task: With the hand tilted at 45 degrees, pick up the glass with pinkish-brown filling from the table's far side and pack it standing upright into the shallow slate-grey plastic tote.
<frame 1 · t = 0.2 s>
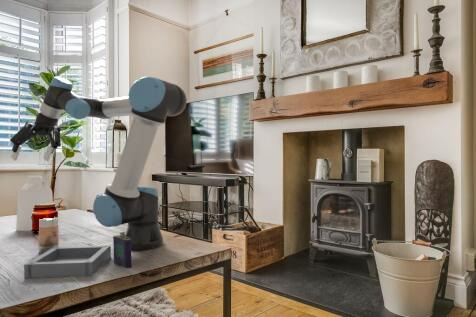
hand: (30, 159, 140), 34 cm above the table, tool tilted 30°, fingers open, 13 cm apart
glass with pinkish-brown filling: (48, 251, 126), on the table
flask: (123, 265, 109), on the table
tote: (71, 266, 108), on the table
milk: (36, 228, 168), on the table
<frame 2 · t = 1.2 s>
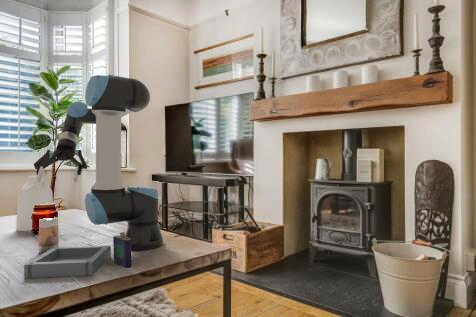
hand: (56, 180, 136), 26 cm above the table, tool tilted 45°, fingers open, 13 cm apart
nothing on the table moved.
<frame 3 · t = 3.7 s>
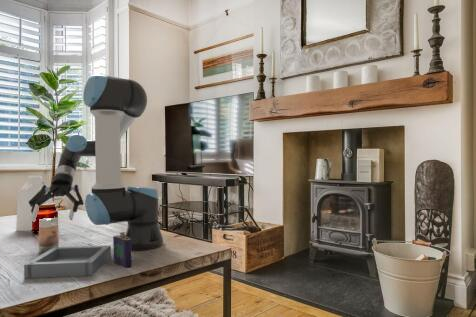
hand: (52, 219, 132), 11 cm above the table, tool tilted 45°, fingers open, 13 cm apart
nothing on the table moved.
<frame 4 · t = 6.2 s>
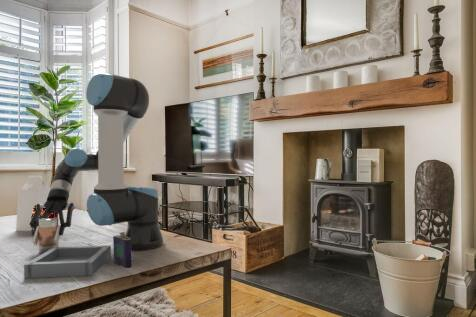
hand: (45, 242, 122), 4 cm above the table, tool tilted 45°, fingers closed on glass with pinkish-brown filling, 6 cm apart
glass with pinkish-brown filling: (48, 251, 126), on the table, touching gripper
everything else where it was.
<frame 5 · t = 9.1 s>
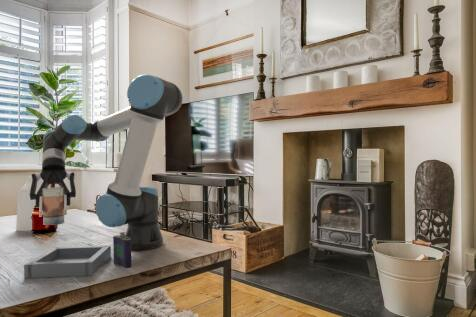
hand: (53, 213, 110), 17 cm above the table, tool tilted 45°, fingers closed on glass with pinkish-brown filling, 6 cm apart
glass with pinkish-brown filling: (53, 223, 114), point 13 cm above the table, touching gripper
everything else where it was.
when the fingers open (6 cm above the table, at t = 12.1 s): glass with pinkish-brown filling drops 1 cm, resting on tote.
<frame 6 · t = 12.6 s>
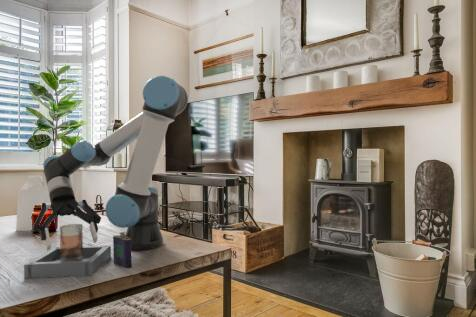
hand: (73, 244, 106), 8 cm above the table, tool tilted 45°, fingers open, 13 cm apart
glass with pinkish-brown filling: (71, 263, 108), point 1 cm above the table, touching tote
everything else where it was.
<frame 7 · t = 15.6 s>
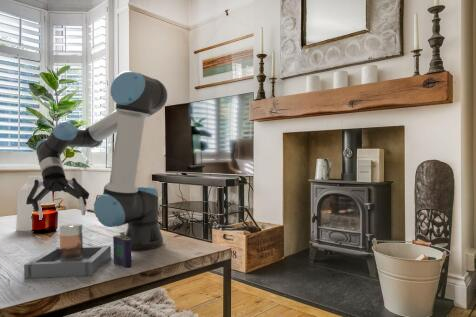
hand: (63, 215, 117), 15 cm above the table, tool tilted 45°, fingers open, 13 cm apart
nothing on the table moved.
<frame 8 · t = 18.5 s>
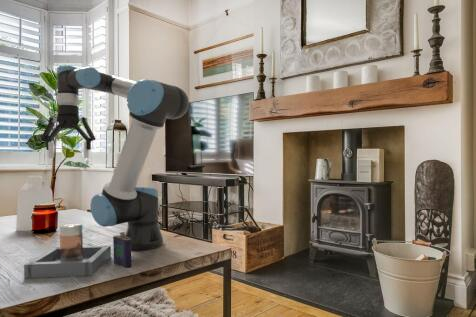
hand: (68, 158, 135), 35 cm above the table, tool pointing down, fingers open, 13 cm apart
nothing on the table moved.
at the end: glass with pinkish-brown filling inside the target area on the tote (0.0 cm from its centre), point 1.0 cm above the tote's base; glass with pinkish-brown filling tilted 0°; the gripper is holding nothing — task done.
